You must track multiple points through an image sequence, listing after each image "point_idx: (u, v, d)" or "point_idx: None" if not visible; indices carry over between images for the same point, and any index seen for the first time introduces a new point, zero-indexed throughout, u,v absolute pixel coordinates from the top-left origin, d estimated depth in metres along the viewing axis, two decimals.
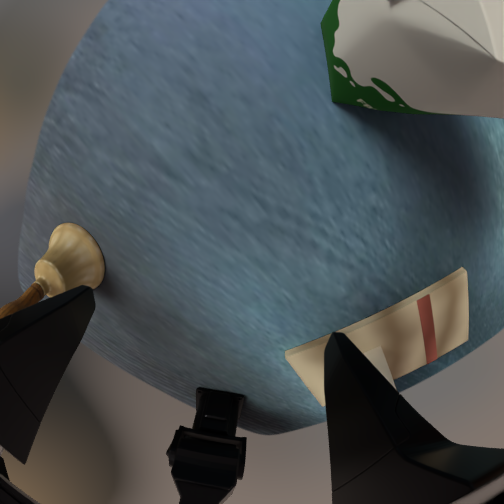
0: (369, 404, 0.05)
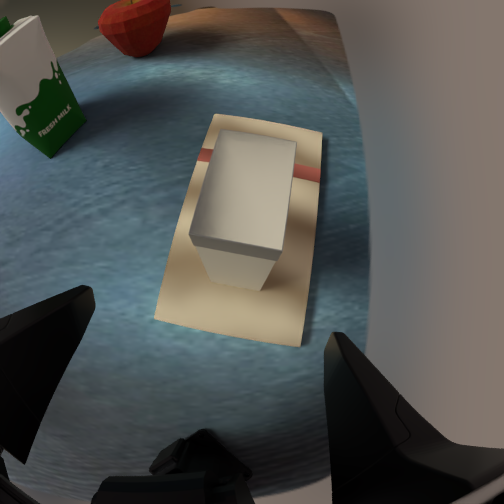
0: (369, 404, 0.05)
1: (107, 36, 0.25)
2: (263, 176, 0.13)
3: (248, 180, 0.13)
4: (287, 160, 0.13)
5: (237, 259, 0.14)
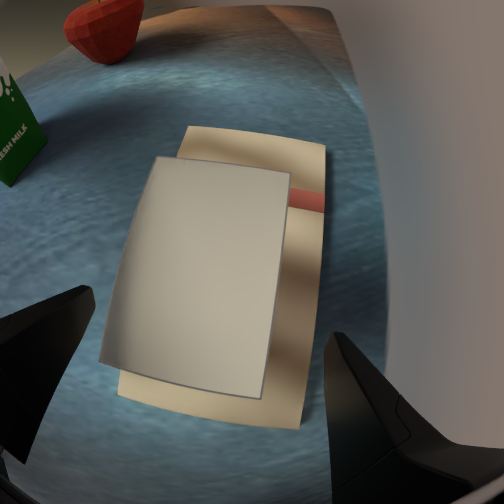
0: (369, 404, 0.05)
1: (72, 42, 0.20)
2: (226, 248, 0.07)
3: (197, 258, 0.07)
4: (273, 211, 0.07)
5: None
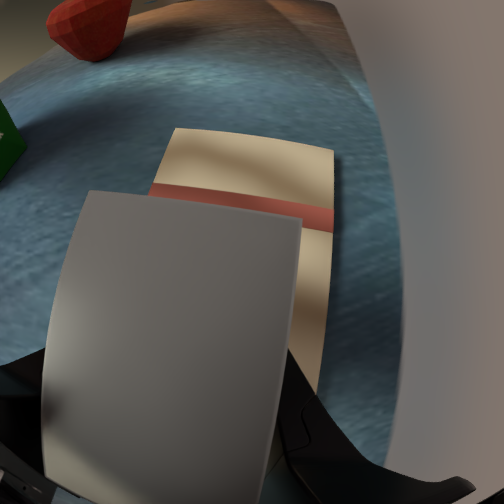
0: None
1: (55, 39, 0.17)
2: (190, 363, 0.04)
3: (146, 376, 0.04)
4: (270, 295, 0.04)
5: None
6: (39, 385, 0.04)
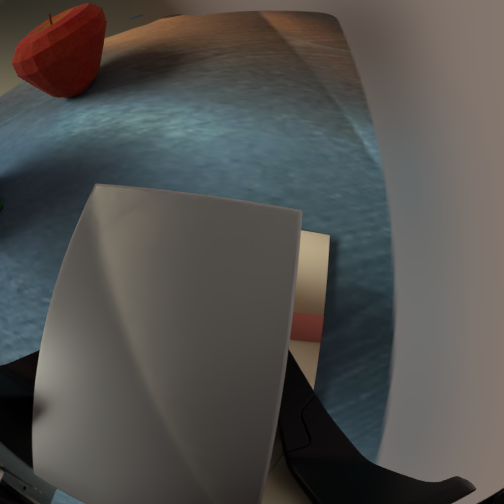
0: None
1: (23, 78, 0.16)
2: (191, 349, 0.04)
3: (145, 363, 0.04)
4: (272, 281, 0.04)
5: None
6: None
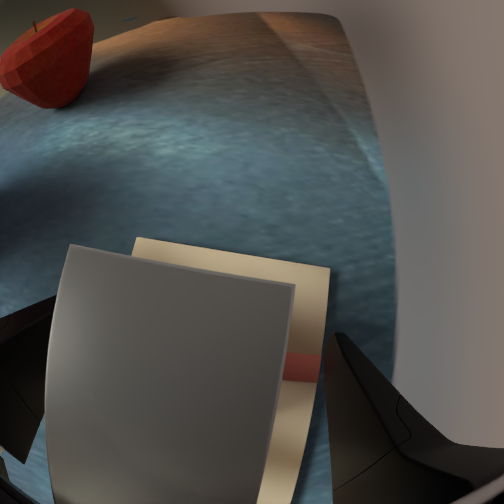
0: (370, 404, 0.05)
1: (8, 90, 0.14)
2: (181, 428, 0.04)
3: (140, 437, 0.03)
4: (258, 368, 0.04)
5: None
6: None
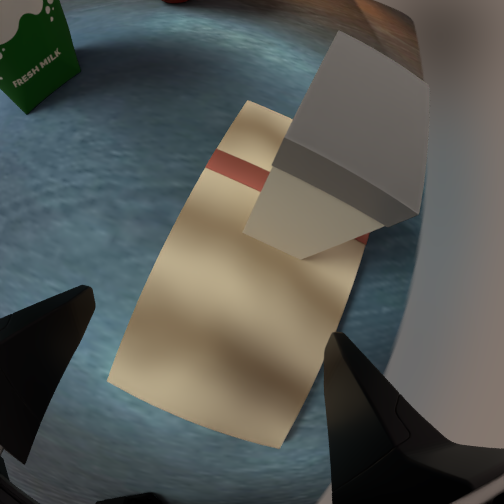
0: (369, 404, 0.05)
1: None
2: (396, 104, 0.07)
3: (378, 99, 0.07)
4: (421, 99, 0.07)
5: (323, 208, 0.09)
6: None
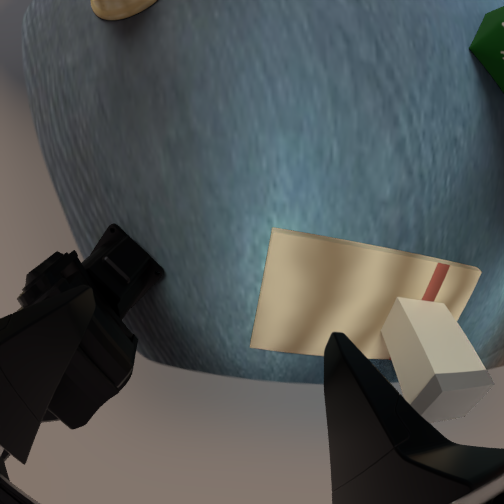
0: (369, 404, 0.05)
1: None
2: (454, 410, 0.13)
3: (455, 405, 0.13)
4: (456, 416, 0.14)
5: (415, 382, 0.16)
6: None
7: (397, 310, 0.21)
